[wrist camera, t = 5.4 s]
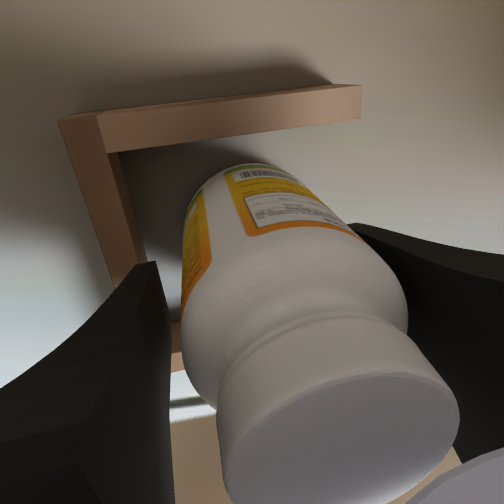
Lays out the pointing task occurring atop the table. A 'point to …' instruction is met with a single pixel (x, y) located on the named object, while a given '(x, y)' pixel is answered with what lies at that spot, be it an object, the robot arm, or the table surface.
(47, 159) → the table surface
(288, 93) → the bay
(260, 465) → the supplement bottle
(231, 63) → the table surface
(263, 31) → the table surface
